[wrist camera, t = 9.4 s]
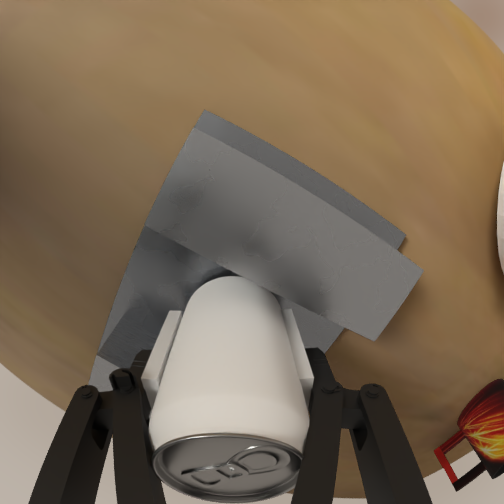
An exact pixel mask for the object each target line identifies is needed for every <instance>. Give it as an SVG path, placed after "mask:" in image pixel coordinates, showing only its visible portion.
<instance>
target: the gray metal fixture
mask: <svg viewBox="0 0 504 504" xmlns="http://www.w3.org/2000/svg"><path fill="white" fill-rule="evenodd" d="M144 225H145V226H144V228H143V230H142V232H141V235H140V237H139V239H138V242H137V244H136V246H135V249H134V251H133V254H132V256H131V259H130V261H129V263H128V266H127V269H126V271H125V274H124V276H123V279H122V281H121V284H120V287H119V289H118V292H117V295H116V298H115V301H114V303H113V306H112V309H111V312H110V315H109V318H108V321H107V324H106V327H105V330H104V333H103V336H102V340H101V343H100V346H99V349H98V353H97V355H96V358H95V362H94V365H93V369H92V373H91V376H90V380H89V384H88V385H92V386H95V387H96V388H97V389H98V391H99V392H104V391H111V390H113V388H112V386H111V383H110V380H109V375H110V374H111V373H112V372H113V371H114V370H116V369H120V368H128V369H130V367H131V365H132V363H133V362H134V358H135V356H136V354H138V353H139V352H140V351H141V350H142V349H143V350H153V348H154V345H155V343H156V340H157V338H158V336H159V333H160V331H161V329H162V327H163V324H164V322H165V320H166V317H167V315H168V313H169V311H181V313H182V317H183V314H184V311H185V309H186V306H187V304H188V302H189V300H190V298H191V296H192V295H193V294H194V292H195V291H196V290H197V289H198V288H200V287H201V286H202V285H204V284H205V283H207V282H209V281H211V280H214V279H217V278H221V277H227V276H238V277H244V278H246V279H248V280H250V281H252V282H254V283H256V284H258V285H260V286H262V287H264V288H266V289H268V290H269V291H270V292H271V293H272V294H273V295H274V296H275V298H276V299H277V301H278V303H279V305H280V307H281V309H292V312H293V315H294V318H295V321H296V324H297V327H298V330H299V333H300V336H301V339H302V342H303V345H304V348H316V347H318V348H319V349H320V350H322V351H323V352H324V354H325V352H326V351H327V350H328V349H329V347H330V346H331V345H332V343H333V342H334V341H335V340H336V338H337V337H338V336H339V334H340V333H341V332H342V330H343V329H344V328H347V329H349V330H351V331H353V332H355V333H357V334H360V335H362V336H364V337H366V338H368V339H370V340H372V341H375V340H376V339H377V337H378V336H379V335H380V334H381V332H382V331H383V330H384V328H385V327H386V326H387V324H388V323H389V322H390V320H391V319H392V317H393V316H394V315H395V313H396V312H397V310H398V309H399V308H400V306H401V305H402V303H403V302H404V300H405V299H406V297H407V296H408V294H409V293H410V292H411V290H412V288H413V287H414V285H415V284H416V282H417V281H418V279H419V278H420V276H421V274H422V273H423V271H424V270H423V269H421V268H420V267H419V266H418V265H416V264H415V263H414V262H412V261H411V260H410V259H408V258H407V257H405V256H404V255H403V254H401V253H400V252H399V251H397V250H398V248H399V246H400V245H401V243H402V241H403V240H404V238H405V236H406V234H404V233H403V232H402V231H400V230H399V229H398V228H397V227H395V226H394V225H393V224H391V223H390V222H389V221H387V220H386V219H385V218H383V217H382V216H380V215H379V214H378V213H376V212H375V211H374V210H372V209H371V208H369V207H368V206H367V205H365V204H364V203H362V202H361V201H359V200H358V199H357V198H355V197H354V196H352V195H351V194H349V193H348V192H346V191H345V190H343V189H342V188H340V187H339V186H337V185H336V184H334V183H333V182H331V181H330V180H328V179H327V178H325V177H324V176H322V175H320V174H319V173H317V172H316V171H314V170H313V169H311V168H309V167H308V166H306V165H305V164H303V163H301V162H300V161H298V160H296V159H295V158H293V157H291V156H290V155H288V154H286V153H285V152H283V151H281V150H279V149H278V148H276V147H274V146H273V145H271V144H269V143H267V142H265V141H264V140H262V139H260V138H258V137H257V136H255V135H253V134H251V133H249V132H247V131H245V130H244V129H242V128H240V127H238V126H236V125H234V124H232V123H230V122H228V121H226V120H224V119H223V118H221V117H219V116H217V115H215V114H213V113H211V112H208V111H206V110H204V111H203V113H202V115H201V116H200V118H199V120H198V122H197V123H196V125H195V127H194V128H193V129H192V131H191V133H190V134H189V136H188V138H187V140H186V142H185V143H184V145H183V147H182V149H181V151H180V153H179V155H178V156H177V158H176V160H175V162H174V164H173V166H172V168H171V170H170V172H169V174H168V176H167V178H166V180H165V182H164V184H163V186H162V188H161V190H160V192H159V194H158V196H157V198H156V200H155V202H154V204H153V207H152V209H151V211H150V213H149V215H148V218H147V220H146V222H145V224H144ZM151 414H152V412H150V415H149V418H151Z"/></svg>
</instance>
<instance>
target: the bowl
mask: <svg viewBox="0 0 504 504" xmlns="http://www.w3.org/2000/svg"><path fill="white" fill-rule="evenodd" d="M497 239H498V253H499V257H500V263H501V268H502V270H503V273H504V163H503V167H502V172H501V179H500V186H499V194H498V209H497Z"/></svg>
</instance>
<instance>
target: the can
mask: <svg viewBox="0 0 504 504" xmlns="http://www.w3.org/2000/svg"><path fill="white" fill-rule="evenodd" d="M309 422H310V419H309V414H308V410H307V406H306V402H305V398H304V394H303V390H302V386H301V383H300V380H299V378H298V374H297V370H296V366H295V362H294V358H293V354H292V350H291V346H290V342H289V339H288V335H287V331H286V327H285V323H284V320H283V316H282V312H281V307H280V305H279V303H278V301H277V299H276V298H275V296H274V295H273V294H272V293H271V292H270V291H269V290H268V289H266V288H264V287H262V286H260V285H258V284H256V283H254V282H252V281H250V280H248V279H246V278H244V277H238V276H227V277H221V278H217V279H214V280H211V281H209V282H207V283H205V284H204V285H202V286H201V287H200V288H198V289H197V290H196V291H195V292H194V294H193V295H192V296H191V298H190V300H189V302H188V304H187V306H186V309H185V311H184V314H183V317H182V320H181V323H180V325H179V328H178V331H177V334H176V337H175V340H174V343H173V346H172V349H171V352H170V355H169V358H168V361H167V364H166V367H165V370H164V373H163V377H162V380H161V383H160V386H159V389H158V393H157V396H156V399H155V403H154V406H153V410H152V414H151V418H150V422H149V438H150V442H151V445H152V448H153V451H154V453H153V455H152V458H151V466H152V468H153V470H154V472H155V474H156V476H157V477H158V478H159V479H160V480H161V481H162V482H163V483H165V484H166V485H167V486H169V487H171V488H172V489H174V490H176V491H178V492H180V493H183V494H185V495H188V496H191V497H194V498H197V499H201V500H206V501H212V502H219V503H248V502H256V501H262V500H267V499H270V498H274V497H277V496H279V495H282V494H284V493H286V492H288V491H290V490H292V489H294V488H295V485H296V481H297V477H298V473H299V469H300V465H301V461H302V459H303V458H305V456H304V455H303V452H304V447H305V442H306V438H307V433H308V428H309Z"/></svg>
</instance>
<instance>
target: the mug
mask: <svg viewBox="0 0 504 504" xmlns="http://www.w3.org/2000/svg"><path fill="white" fill-rule="evenodd" d="M457 425H458V426H459V428H460V429H461V430H460V431H458V432H457V433H456V434H455V435H454V436H452V437H451V438H450V439H449V440H447V441H446V442H445V443H444V444H442V445H441V446H440V447H438V448H437V449H435V450H434V453H435V454H436V456H437V458H438V460H439V462H440V464H441V465H442V467H443V468H444V469H445V471H446V473H447V475H448V477H449V479H450V481H451V482H452V484H453V486H454V488H455V490H456V491H459V490H460V489H462V488H463V487H464V486H466V485H467V484H469V482H471V481H473V480H474V479H475V478H476V477H477V476H479V475H480V474H481V473H483V472H484V471H485V470H487V471H488V473H489V475H490V476H491V478H492V479H494V478H496V477H498V476H500V475H501V474H503V473H504V380H503V379H497V380H494V381H493V382H491V383H489V384H488V385H487V386H485V387H484V388H483V389H482V390H481V391H480V392H479V393H477V394H476V395H475V396H474V398H473V399H472V400H471V401H470V402H469V403H468V404H467V406H466V407H465V408H464V410H463V411H462V413H461V414H460V416H459V418H458V422H457ZM465 438H467V440H468V441H469V443H470V444H471V446H472V448H473V449H474V451H475V452H476V454H477V455H478V457H479V458H480V460H481V462H480V463H479V464H478V465H476V466H475V467H474V468H473V469H471V470H470V471H469V472H467V473H466V474H465V475H464V476H462V477H461V478H460V479H457V477H456V475H455V473H454V471H453V469H452V467H451V466H450V464H449V462H448V460H447V459H446V457H445V454H446V453H447V452H448V451H450V450H451V449H452V448H454V447H455V446H456V445H457V444H459V443H460V442H461V441H462V440H463V439H465Z"/></svg>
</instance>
